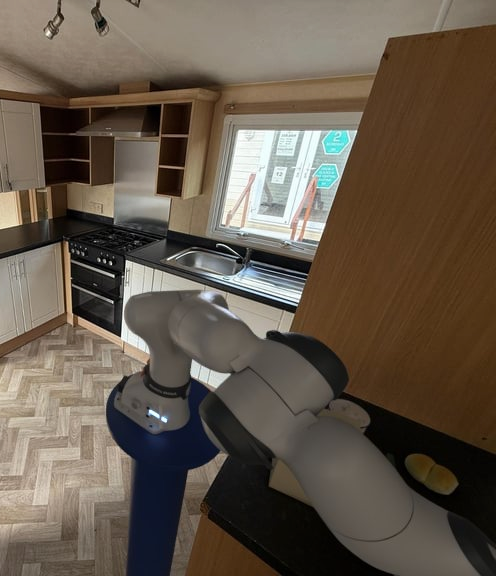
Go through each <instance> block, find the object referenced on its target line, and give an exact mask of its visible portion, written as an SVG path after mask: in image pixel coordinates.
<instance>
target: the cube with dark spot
mask: <svg viewBox="0 0 496 576" xmlns="http://www.w3.org/2000/svg"><path fill="white" fill-rule="evenodd" d="M317 416H331V417H335V418H339V419H341V420H344V421H346V422H348V423H350V424H351V425H353V426H354V427H355V428H357V429H358V430H359V431H360V432H361V429H360V422H359V420H356V419H353V418H350V417H347V416H345V415H342V414H339V413H336V412H333V411H330V410H328V408H324V409H323V410H322V411H321V412H320V413H319V414H318V415H317ZM271 465H272V466H273V469H270V472H269V473H270V474H269V481H268V487H269V488H271V489H274V490H276V491H278V492H280V493H282V494H285V495H287V496H288V497H290V498H292V499H295V500H298V501H299V502H302V503H303V504H305V505H307V506H310V507H312V508H314V507H313V505H312V504H311V502H310V501H309V499H308V497H307V496H306V494H305V492H304V491H303V489H302V487H301V485H300V484H299V482H298V481H297V479H296V478H295V476H294V475H293V473H292V472H291V470H290V469H289V468H288V467H287V466H286V465H285V464H284V463H283V462H282V461H281V460H280V459H278V458H271Z"/></svg>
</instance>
